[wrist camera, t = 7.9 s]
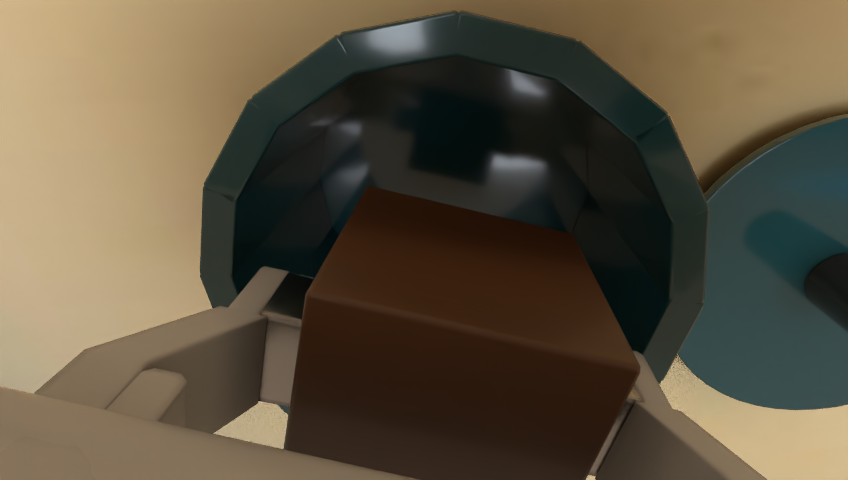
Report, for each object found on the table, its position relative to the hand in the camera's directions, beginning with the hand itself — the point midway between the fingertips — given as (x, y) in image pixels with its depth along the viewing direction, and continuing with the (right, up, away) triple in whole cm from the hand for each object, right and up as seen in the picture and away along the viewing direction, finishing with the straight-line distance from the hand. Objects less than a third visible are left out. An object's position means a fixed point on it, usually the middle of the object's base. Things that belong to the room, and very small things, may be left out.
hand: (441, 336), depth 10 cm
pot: (+1, +4, +9) cm, 10 cm away
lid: (+15, +1, +9) cm, 18 cm away
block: (0, +1, +1) cm, 2 cm away
